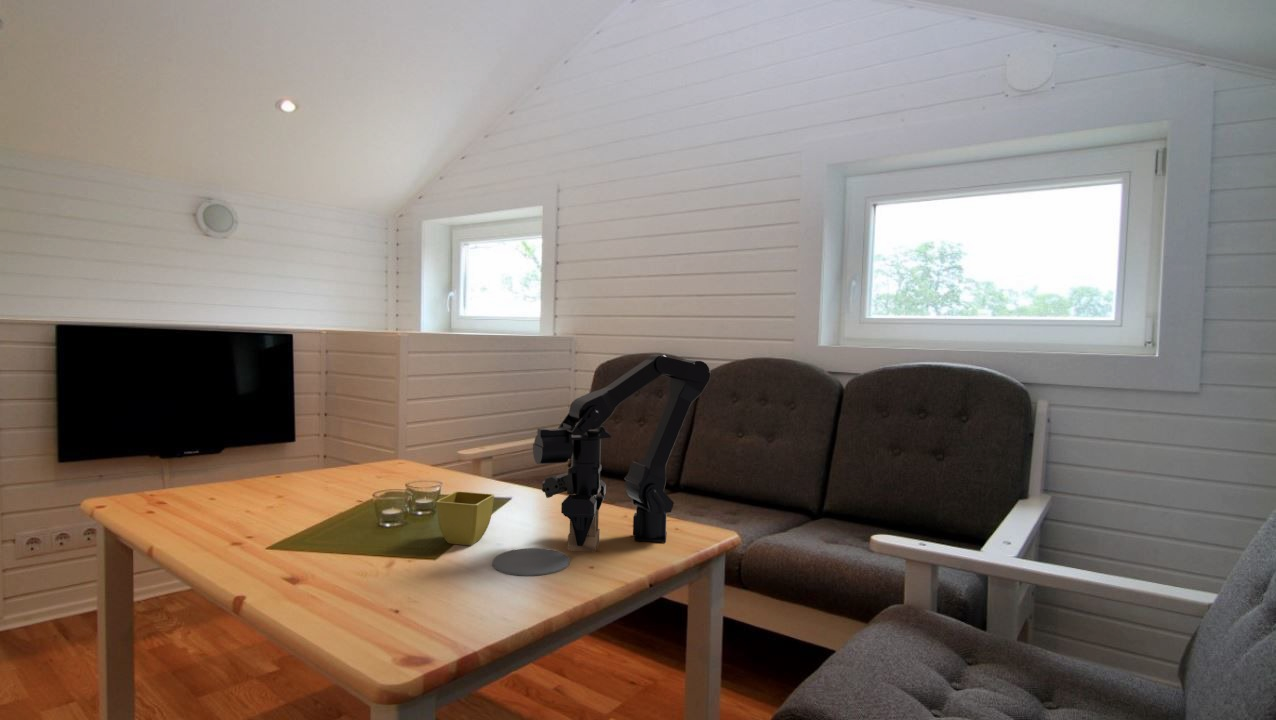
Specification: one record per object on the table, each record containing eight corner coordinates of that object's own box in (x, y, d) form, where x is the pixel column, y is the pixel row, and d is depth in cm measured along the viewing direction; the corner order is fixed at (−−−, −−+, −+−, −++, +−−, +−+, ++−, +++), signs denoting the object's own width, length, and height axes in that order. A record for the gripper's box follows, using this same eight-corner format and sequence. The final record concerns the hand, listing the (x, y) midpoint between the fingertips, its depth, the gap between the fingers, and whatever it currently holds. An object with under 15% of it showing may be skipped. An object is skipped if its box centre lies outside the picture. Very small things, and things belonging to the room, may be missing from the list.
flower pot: (475, 550, 129) (476, 504, 129) (434, 546, 131) (434, 500, 131) (494, 537, 138) (495, 494, 138) (455, 533, 140) (455, 490, 139)
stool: (599, 543, 136) (600, 509, 136) (595, 552, 131) (596, 516, 131) (572, 542, 137) (573, 508, 136) (567, 550, 131) (568, 515, 131)
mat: (575, 552, 130) (575, 550, 130) (561, 578, 116) (561, 575, 116) (504, 548, 131) (504, 546, 131) (482, 573, 117) (482, 571, 117)
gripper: (555, 451, 143) (553, 523, 144) (535, 468, 124) (533, 551, 125) (607, 453, 142) (605, 526, 143) (594, 471, 124) (592, 554, 124)
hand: (583, 538), depth 134 cm, fingers open, 9 cm apart
